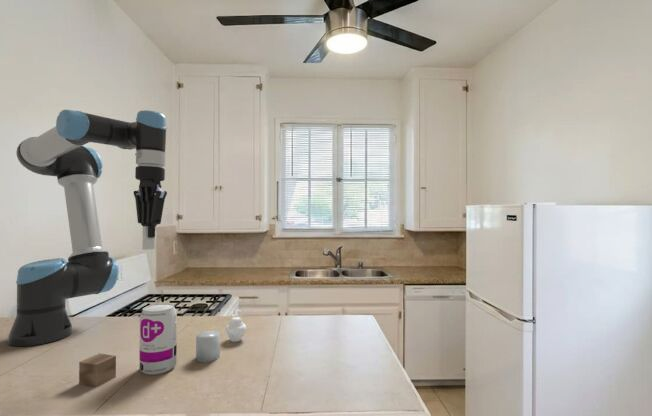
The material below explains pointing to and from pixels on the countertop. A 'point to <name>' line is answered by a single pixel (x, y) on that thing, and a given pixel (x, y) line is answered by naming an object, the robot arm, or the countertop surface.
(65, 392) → the countertop surface
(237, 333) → the white ribbed rounded piece
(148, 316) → the supplement can
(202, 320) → the countertop surface
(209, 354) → the white rounded cylinder
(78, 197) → the robot arm
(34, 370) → the countertop surface
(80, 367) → the walnut block
